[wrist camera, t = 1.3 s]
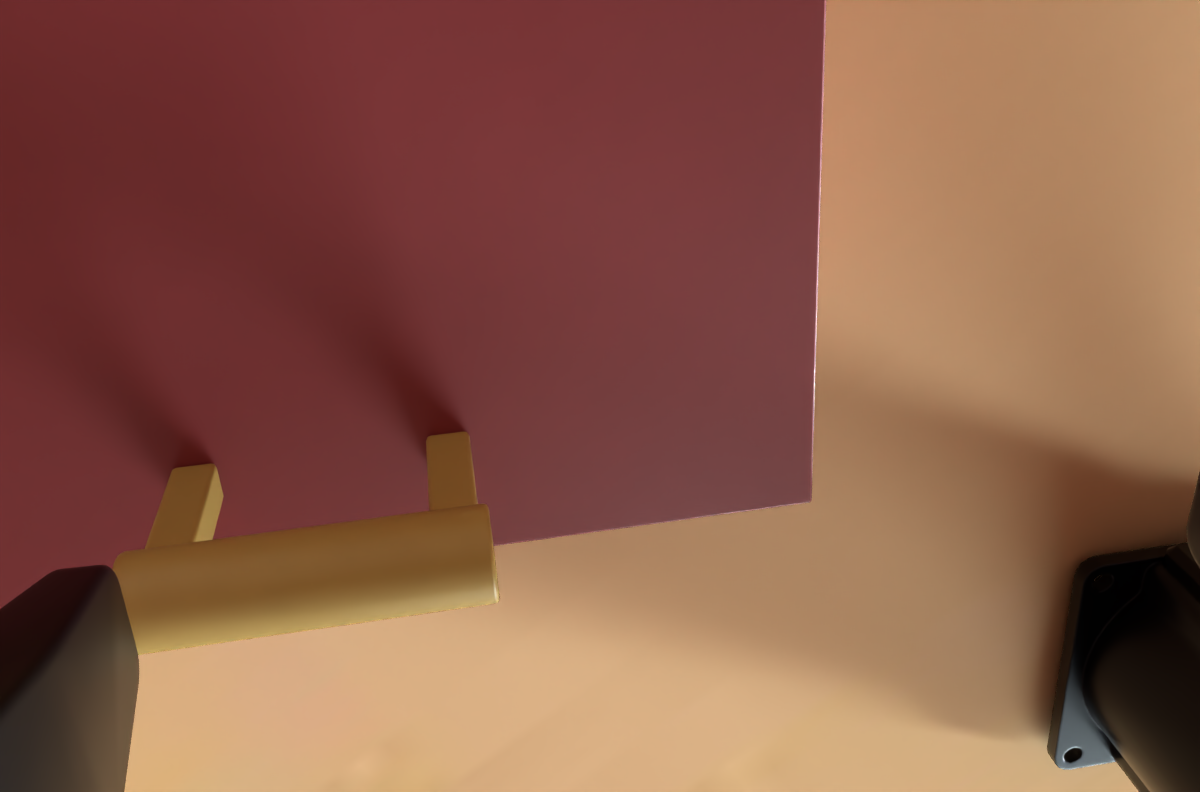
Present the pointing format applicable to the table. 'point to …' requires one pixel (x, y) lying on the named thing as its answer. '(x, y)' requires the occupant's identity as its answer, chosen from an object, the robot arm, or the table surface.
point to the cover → (394, 291)
